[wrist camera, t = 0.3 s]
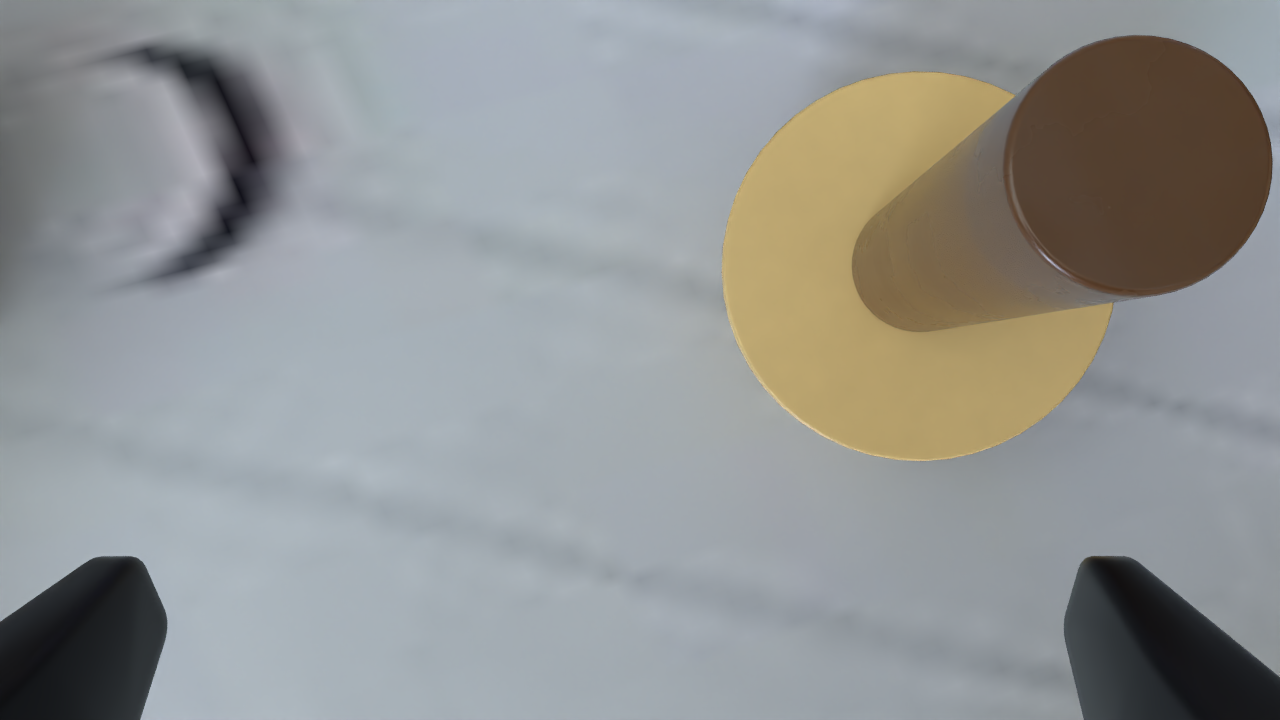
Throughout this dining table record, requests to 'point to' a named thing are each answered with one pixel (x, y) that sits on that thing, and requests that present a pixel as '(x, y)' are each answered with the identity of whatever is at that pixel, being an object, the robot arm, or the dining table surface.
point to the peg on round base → (982, 237)
